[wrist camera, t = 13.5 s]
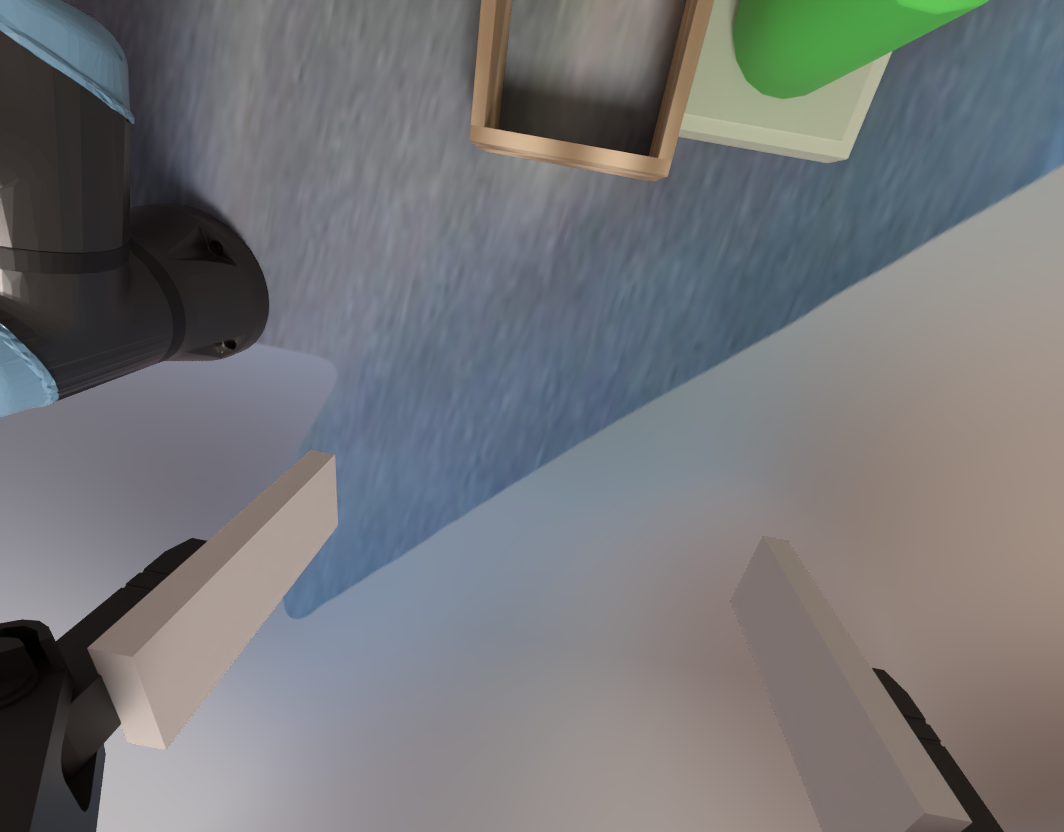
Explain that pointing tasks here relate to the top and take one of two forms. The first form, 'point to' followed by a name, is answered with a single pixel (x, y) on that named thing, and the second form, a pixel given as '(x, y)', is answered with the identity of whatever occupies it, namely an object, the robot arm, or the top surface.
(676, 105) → the open square wooden frame
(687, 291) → the top surface
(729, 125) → the stand block
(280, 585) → the robot arm
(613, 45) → the top surface
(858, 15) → the bottle
